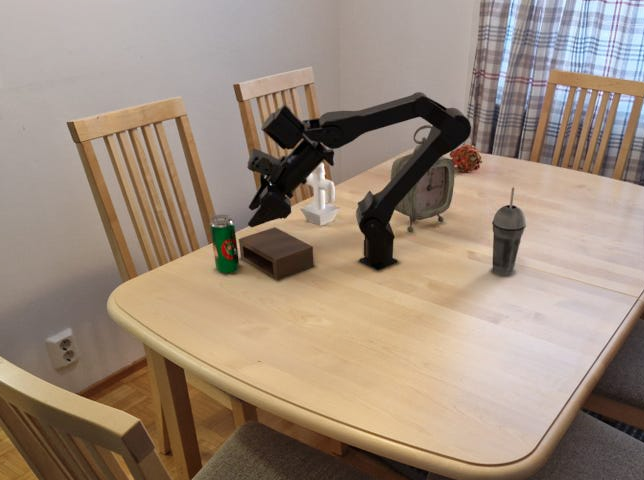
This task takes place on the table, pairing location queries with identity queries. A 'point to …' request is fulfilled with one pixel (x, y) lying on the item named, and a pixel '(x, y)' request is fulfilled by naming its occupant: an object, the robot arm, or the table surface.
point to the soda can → (224, 243)
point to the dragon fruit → (466, 158)
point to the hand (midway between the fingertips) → (249, 217)
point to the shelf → (276, 253)
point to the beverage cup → (507, 237)
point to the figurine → (320, 198)
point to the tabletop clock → (427, 188)
